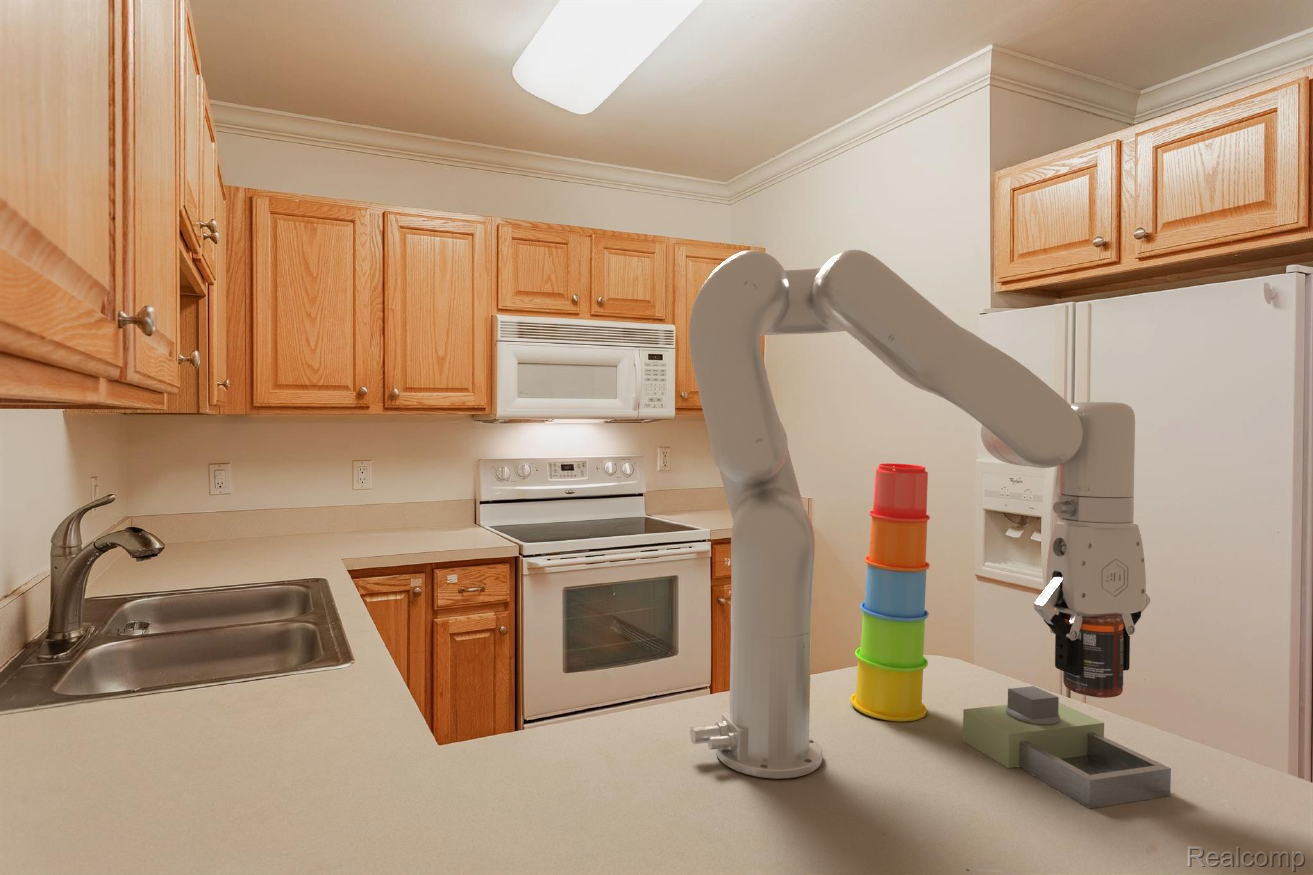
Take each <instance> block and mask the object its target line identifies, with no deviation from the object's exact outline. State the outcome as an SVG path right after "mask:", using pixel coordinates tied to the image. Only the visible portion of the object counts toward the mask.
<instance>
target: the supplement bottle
mask: <svg viewBox="0 0 1313 875" xmlns="http://www.w3.org/2000/svg"><path fill="white" fill-rule="evenodd" d="M1070 618H1071V615H1067V617H1066V620H1065V621H1066V622H1067V623H1068V624H1069V621H1070ZM1077 639H1079V640H1082V673H1081V675H1078V676H1074V675H1072V674H1069V673H1067V672H1064V671H1062V678H1063V679H1062V680H1063V681H1062V682H1063V684H1064V685H1063V686H1064V687H1065V688H1066V689H1068V690H1070V691H1072V692H1073V693H1075V694H1078V695H1083V696H1087V697H1092V698H1093V697H1094V698H1105V699H1107V698H1108V699H1109V698H1116V697H1119V696H1120V695H1121V694H1123V691H1124V689H1123V688H1124V671H1123V618H1122V616H1121V615H1120V614H1118V615H1105V616H1090V617H1086V616H1084V619H1083V622H1082V625H1081V628H1080V631H1079V634H1078V637H1077Z"/></svg>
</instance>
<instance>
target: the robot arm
mask: <svg viewBox="0 0 1313 875" xmlns="http://www.w3.org/2000/svg"><path fill="white" fill-rule="evenodd" d="M699 289H700V290H699V291H698V293H697V295H696V297H695V299H694V302H693V306H692V308H691V313H690V318H689V324H688V350H689V355H690V361H691V362H690V363H691V365H692V370H693V375H694V378H695V384H696V388H697V391H698V396H699V402H700V405H701V409H702V413H703V417H704V420H705V425H706V430H707V433H708V439H709V445H710V453H711V457H712V459H713V462H714V464H715V467H717V469H718V470H719V474H720V477H721V481H722V485H723V489H724V492H725V496H726V500H727V503H728V507H729V510H730V513H731V514H730V515H731V518H732V527H731V528H732V529H731V535H730V536H731V537H730V575H731V576H730V577H731V578H730V580H731V582H730V584H731V585H730V587H731V588H730V591H731V592H730V663H729V664H730V665H729V666H730V669H729V712H724V713H723V712H722V713H721V721H717V722H715V723H714V725H701V726H700V725H699V726H697V725H696V726H692V727H690V731H689V732H690V733H689V734H690V741H691V744H692V745H699V744H707V746H708V749H709V750H715V753H716V756H717V758H718V759H719V760H720V761H721V763H723V764H724V765H725V766H727V767H728V768H730V769H732V770H734V771H736V772H739V773H741V774H745V775H748V776H753V777H757V778H763V779H779V780H781V779H790V778H791V779H792V778H798V777H801V776H805V775H809V774H811V773H813V772H815V770H817V769H818V768H819V767H820V766H821V764H822V762H823V750H822V747H821V746H820V744H819V743H818V742H817V741H816V739H815V740H814V739H813V738H812V737H810V723H811V722H810V721H811V720H810V717H811V716H810V712H811V707H810V706H811V660H812V658H811V657H812V654H811V653H812V652H811V651H812V595H813V592H812V591H813V579H814V578H813V577H814V564H815V548H816V547H815V546H816V545H815V534H814V533H815V531H814V526H813V522H812V519H811V517H810V515H809V513H808V511H807V509H806V508H805V505H804V501H803V498H802V495H801V492H800V489H799V488H800V487H799V484H798V481H797V477H796V476H797V475H796V473H795V470H794V466H793V462H792V457H791V455H790V451H789V447H788V443H789V442H788V437H787V433H786V430H785V428H784V426H783V425H784V424H783V423H782V421H781V420H780V417H779V414H778V410H777V407H776V404H775V401H774V398H773V394H772V390H771V386H770V383H769V378H768V373H767V372H768V371H767V368H766V363H765V360H764V357H763V352H762V346H761V345H762V342H761V341H762V340H761V338H762V336H778V335H782V336H783V335H807V334H826V333H836V332H837V333H838V332H846V333H848V334H849V335H850V336H851V337H852V338H853V339H855V340H856V341H857V342H858V343H860V344H861V345H863V347H865V348H866V349H867V350H868V351H870V352H871V353H872V354H873V355H874V356H876V358H878V359H879V360H880V361H881V362H882V363H883V364H884V365H886V366H887V367H888V368H889V369H890V370H891V371H893V373H895V374H896V375H897V376H898V377H900V379H902V380H904V381H905V382H907V383H908V384H910V385H912V386H914V387H915V388H918V389H920V390H922V391H925V392H928V393H931V394H933V395H935V396H938V397H940V398H942V399H944V400H946V401H948V402H949V403H952V404H953V405H954V406H956V407H958V408H960V409H961V410H962V411H963V412H965V413H967V414H968V415H969V416H970V417H971V418H972V419H974V420H976V421H977V422H978V423H980V424H981V428H980V438H981V443H982V444H983V446H984V448H985V449H986V451H987V452H988V454H990V455H991V456H992V457H994V458H995V459H997V460H999V461H1001V462H1003V463H1006V464H1010V465H1015V466H1021V467H1031V468H1038V469H1050V468H1056V467H1057V482H1056V484H1057V486H1056V488H1057V490H1056V491H1057V493H1056V498H1057V499H1056V501H1055V502H1054V503H1053V505H1052V510H1053V512H1054V513H1055V514H1056V521H1055V522H1053V524H1052V526H1053V527H1052V531H1051V533H1050V540H1049V545H1048V553H1047V559H1046V562H1047V563H1046V574H1045V589H1044V590H1043V591H1042V593H1041V594H1040V595H1039V596H1038V598H1037V599H1036V601H1035V602H1034V603H1033V609H1034V610H1035V611H1036V612H1037V614H1038V615H1039V616H1040V617H1041V618H1042V620H1043V622H1044V624H1046V625H1047V626H1048V627H1049V630H1050V633H1051V634H1053V635H1054V636H1055V638H1054V642H1055V643H1054V644H1055V645H1054V649H1055V650H1054V666H1055V668H1056V669H1057V670H1059V671H1061V672H1063V671H1064V672H1067V673H1069V674H1072V675H1074V676H1078V675H1081V673H1082V640H1079V639H1077V637H1078V634H1079V631H1080V628H1081V625H1082V622H1083V619H1084V616H1086V617H1090V616H1105V615H1118V614H1120V615H1121V616H1122V618H1123V672H1124V671H1129V670H1130V664H1131V663H1130V661H1131V660H1130V658H1131V654H1130V653H1131V636H1132V635H1134V634H1135V632H1136V627H1135V626H1136V624H1137V623H1138V622H1139V620H1140V619H1141V618H1142V617H1141V616H1142V613H1143V612H1144V611H1145V610H1146V608H1148V606H1149V605H1150V604H1151V598H1150V596H1149V595H1148V594H1147V580H1146V579H1147V578H1146V576H1147V575H1146V565H1145V564H1146V562H1145V552H1144V546H1143V545H1144V544H1143V540H1142V535H1141V530H1140V527H1139V524H1137V523H1134V508H1135V503H1134V501H1135V498H1134V496H1135V494H1134V493H1135V491H1134V490H1135V451H1136V450H1135V448H1136V447H1135V446H1136V444H1135V443H1136V442H1135V440H1136V415H1135V412H1134V410H1133V408H1132V407H1131V406H1130V405H1129V404H1126V403H1124V402H1123V403H1122V402H1114V401H1112V402H1111V401H1092V402H1091V401H1088V402H1087V401H1086V402H1084V401H1083V402H1073V403H1069V402H1068V401H1067V400H1066V399H1065V398H1064V397H1062V396H1061V395H1060V394H1059V393H1057V392H1056V391H1055V390H1054V389H1053V388H1052V387H1050V386H1049V385H1048V384H1047V383H1046V382H1044V381H1043V380H1042V379H1041V378H1040V377H1039V376H1037V375H1036V374H1035V373H1033V371H1031V370H1029V369H1028V367H1026V366H1025V365H1023V364H1022V363H1021V362H1019V361H1018V360H1016V359H1014V358H1013V357H1011V355H1009V354H1007V353H1005V352H1004V351H1002V350H1001V349H999V348H997V347H995V346H993V345H992V344H990V343H988V342H987V341H985V340H984V339H982V338H980V337H979V336H978V335H976V334H974V333H973V332H971V331H969V330H967V329H965V328H964V327H962V326H960V325H959V324H958V323H956V322H955V321H953V320H952V319H951V318H950V317H949V316H947V315H946V314H944V312H942V311H941V310H940V309H939V308H937V307H936V305H934V304H933V303H931V302H930V301H929V300H928V299H927V298H925V297H924V296H923V295H922V294H921V293H920V292H918V291H917V290H916V289H914V287H913V286H911V285H910V284H909V283H908V282H906V281H905V280H904V279H903V278H901V277H900V276H899V275H898V274H897V273H896V272H895V271H893V270H892V269H891V268H889V267H888V265H886V264H885V263H884V262H882V261H881V260H880V259H878V258H877V257H876V256H874V255H872V254H871V253H868V252H867V251H865V250H864V251H863V250H861V249H848V250H844V251H841V252H840V253H837V254H836V255H834V256H832V257H831V258H830V259H829V260H828V261H826V263H824V265H823V266H822V267H819V268H818V267H817V268H806V269H804V268H803V269H785V268H784V267H783V266H782V263H780V261H778V260H777V259H776V258H775V257H774V256H773V255H771V254H769V253H767V252H764V251H761V250H753V249H752V250H744V251H740V252H738V253H736V254H734V255H732V256H730V257H729V258H727V259H726V260H724V261H723V262H722V263H721V264H720V265H718V266H717V267H716V268H715V269H714V270H713V271H712V273H711V274H709V276H708V277H707V279H705V282H704V283H703V284H702V285H701V287H700V288H699ZM1067 615H1071V618H1070V621H1069V624H1068V623H1067V622H1066V621H1065V620H1066V617H1067Z"/></svg>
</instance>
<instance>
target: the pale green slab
mask: <svg viewBox="0 0 1313 875" xmlns="http://www.w3.org/2000/svg"><path fill="white" fill-rule="evenodd" d="M1059 699H1060V697H1059V696H1057V695H1055V694H1052V693H1051V692H1048V691H1046V690H1044V689H1041V688H1039V687H1037V686H1035V685H1033V686H1023V687H1012V688H1007V704H1000V705H993V706H983V707H982V706H981V707H974V708H971V707H970V708H964V709H963V710H962V711H963V712H962V715H963V718H962V720H963V721H962V741H963V742H965V744H968V746H971V747H972V748H975V749H976V750H977V751H979V752H981V753H983V754H984V755H986V756H987V757H988V758H990V759H992V760H994V761H995V762H997V763H999V764H1001V765H1002V766H1004V767H1006V769H1007V768H1008V769H1012V768H1020V767H1019V746H1020V741H1028V742H1030V743H1032V744H1034V745H1036V746H1037V747H1039V748H1041V749H1043V750H1045V751H1047V752H1048V753H1050V754H1052V755H1054V756H1056V757H1058V758H1060V759H1062V758H1069V757H1077V756H1084V755H1087V740H1088V733H1092V732H1095V733H1097V734H1099V735H1101V736H1103V737H1105V722H1103V721H1101V720H1098V719H1096V718H1094V717H1092V716H1090V715H1088V714H1086V713H1083V712H1081V711H1080V710H1076V709H1075V708H1072V707H1071V706H1069V705H1066V704H1063V703H1061V702H1059Z"/></svg>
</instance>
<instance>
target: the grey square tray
mask: <svg viewBox="0 0 1313 875" xmlns="http://www.w3.org/2000/svg"><path fill="white" fill-rule="evenodd" d="M1018 768H1021V769H1022V770H1024V771H1025V772H1027V773H1029V774H1030V775H1032V776H1034V777H1035V778H1037V779H1039V780H1040V781H1042V782H1044V783H1046V784H1047V785H1049V786H1051V787H1053V788H1054V789H1055V790H1057V791H1059V792H1061V793H1062V794H1064V795H1065V796H1067V797H1069V798H1071V799H1073V800H1074V801H1076V802H1077V803H1079V804H1081V805H1083V806H1085V807H1086V808H1088V809H1090V810H1091V809H1096V808H1102V807H1108V806H1114V805H1121V804H1127V803H1135V802H1140V801H1146V800H1147V801H1148V800H1152V799H1160V798H1166V797H1170V796H1171V784H1172V783H1171V780H1172V779H1171V777H1172V768H1171V767H1169V766H1167V765H1165V764H1162V763H1161V762H1158V761H1155V760H1154V759H1151V758H1149V757H1147V756H1146V755H1143V754H1141V753H1139V752H1137V751H1135V750H1133V749H1131V748H1129V747H1127V746H1125V745H1122V744H1120V743H1118V742H1116V741H1113V740H1112V739H1110V738H1108V737H1105V736H1104V737H1103V736H1101V735H1099V734H1097V733H1095V732H1092V733H1088V740H1087V755H1084V756H1077V757H1069V758H1062V759H1060V758H1058V757H1056V756H1054V755H1052V754H1050V753H1048V752H1047V751H1045V750H1043V749H1041V748H1039V747H1037V746H1036V745H1034V744H1032V743H1030V742H1028V741H1020V746H1019V767H1018Z"/></svg>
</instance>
